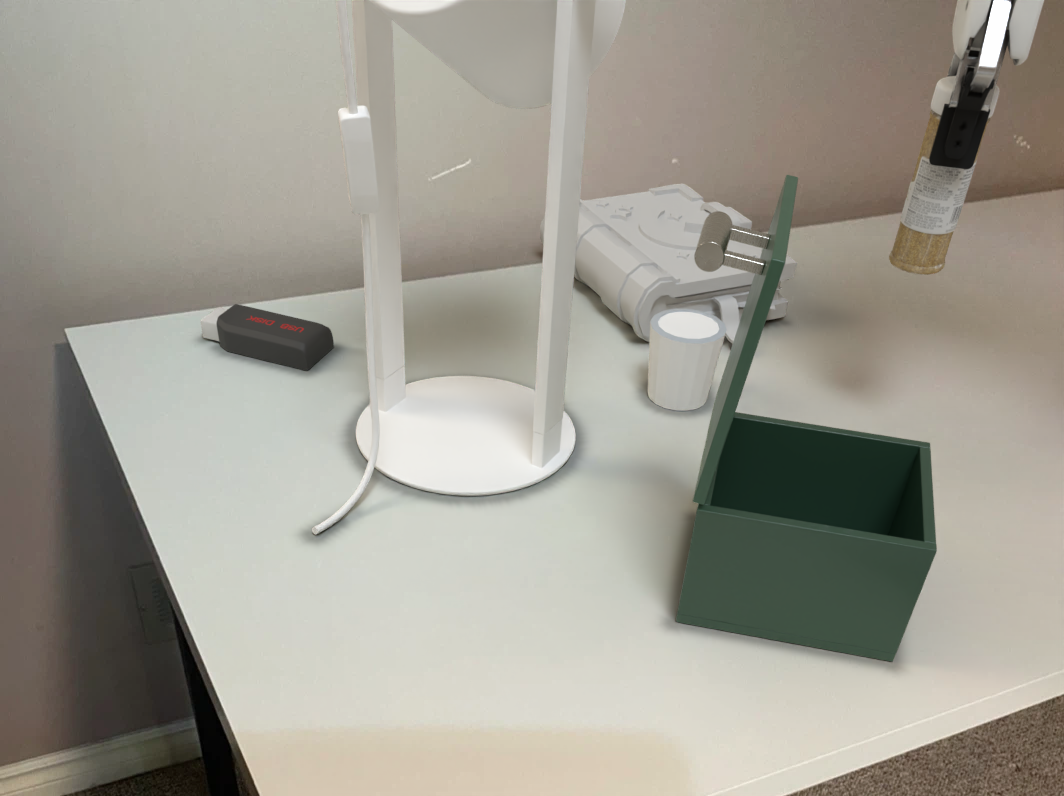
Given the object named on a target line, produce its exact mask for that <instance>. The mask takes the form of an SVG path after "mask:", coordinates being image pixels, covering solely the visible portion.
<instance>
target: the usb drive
mask: <svg viewBox="0 0 1064 796" xmlns="http://www.w3.org/2000/svg"><path fill="white" fill-rule="evenodd" d="M200 327H201V332H202V338H203V339H207V340H212V341H216V342H219V346H220V348H222V349H223V350H225V351H226V352H229V353H232V354H236V355H241V356H243V357H244V356H245V357H249V358H254V359H257V360H261V361H264V362H269V363H273V364H278V365H281V366H284V367H290V368H293V369H297V370H298V369H299V370H302V371H309V370H310V369H311V368H312V367H313V366H314V365H316V364H317V363H318V362H319V361H320V360H321V359H322V358H324V357H325V356H326V355H327V354H328V353H329V352H330V351H331V350H332V349H334V348H335V344H334V343H335V341H334V335H333V332H332V330H331V328H329V327H328V326H326V325H325V324H323V323H319V322H316V321H311V320H307V319H304V318H299V317H294V316H290V315H286V314H282V313H278V312H273V311H268V310H265V309H261V308H256V307H253V306H247V305H242V304H237V303H235V304H233V305H232V306H231V307H229V308H226V307H225V308H224V307H221V306H218V307H216V308H215V309H213V310H212V311H211V312H210V313H208V314H206V315H205V316H203V317H202V318H201V319H200Z"/></svg>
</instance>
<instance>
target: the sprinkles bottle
mask: <svg viewBox="0 0 1064 796" xmlns="http://www.w3.org/2000/svg"><path fill="white" fill-rule="evenodd" d="M955 79H956V76H949V77H947V76H945V77H942V78H940V79H939V80H938V81H937V83H936V84H935V88H934V92H933V95H932V98H931V102H930V105H929V106H930V111H929V119H928V122H927V127H926V128H925V132H924V136H923V139H922V143H921V147H920V149H919V154H918V156H917V160H916V164H915V167H914V171H913V175H912V179H911V180H910V181H909V182H910V183H909V187H908V190H907V193H906V196H905V200H904V204H903V207H902V211H901V215H900V220H899V221H900V222H899V225H898V226H899V227H898V229H897V232H896V236H895V239H894V243H893V246H892V250H891V251H890V253H889V256H888V260H889V263H890V264H891V266H893V267H895V268H897V269H899V270H900V271H903V272H906V273H909V274H913V275H921V276H922V275H925V276H926V275H927V276H929V275H934V274H937V273H939V272H941V271H942V270H943V269H944V268H945V265H946V257H947V254H948V250H949V247H950V244H951V242H952V238H953V235H954V231H955V230H956V229H957V226H958V222H959V219H960V216H961V213H962V209H963V206H964V203H965V201H966V197H967V194H968V191H969V187H970V184H971V182H972V178H973V175H974V172H975V168H976V166H977V161H978V156H979V152H980V149H981V147H982V142H983V139H984V138H985V137H984V136H985V134H986V130H987V126H988V124H989V123H990V121H991V117H993V115H994V112H995V110H996V106H997V104H998V100H999V96H1000V93H1001V92H1000V91H1001V90H1000V87H999V86H998V85H997V84H996V87H995V91H994V94H993V98H992V101H991V105H990V108H989V109H990V114H989V117H988V120H987V123H986V126H985V129H984V133H983V136H982V139H981V142H980V145H979V149H978V152H977V155H976V158H975V161H974V164H973V166H972V167H971V168H970V169H960V168H952V167H944V166H935V165H931V164H930V162H929V157H930V153H931V150H932V146H933V143H934V139H935V136H936V132H937V129H938V125H939V122H940V118H941V115H942V111H943V108H944V104H949V101H950V97H951V94H952V90H953V86H954V82H955Z"/></svg>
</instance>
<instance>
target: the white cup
mask: <svg viewBox="0 0 1064 796" xmlns="http://www.w3.org/2000/svg"><path fill="white" fill-rule="evenodd" d="M726 331H727V329H726V327H725V324H724V323H723V322H722V321H721V320H720V319H719V318H717V317H716V316H713V315H711V314H709V313H706V312H703V311H698V310H693V309H670V310H665V311H662V312H660V313H658V314H656V315H654V316H653V318H652V320H651V321H650V343H649V342H648V344H649V346H648V369H647V370H648V371H647V395H648V398H649V400H651V402H652V403H653V404H655V405H657V406H659V407H661V408H663V409H667V410H672V411H682V412H684V411H685V412H686V411H687V412H689V411H693V410H697V409H700V408H701V407H703V406H704V405H705V404H706V402H707V400H708V398H709V393H710V390H711V387H712V384H713V380H714V376H715V372H716V370H717V366H718V362H719V358H720V355H721V352H722V349H723V346H724V345H723V344H724V341H725V338H726V336H725V334H726Z"/></svg>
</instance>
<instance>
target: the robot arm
mask: <svg viewBox="0 0 1064 796" xmlns="http://www.w3.org/2000/svg"><path fill="white" fill-rule="evenodd" d="M1044 3H1045V0H957V1H956V5H955V6H956V7H955V10H954V17H953V20H952V27H951V37H952V46H953V51H954V52H953V55H952V58H951V62H950V64H949V68H948V71H947V76H946V77H949V76H956V79H955V82H954V86H953V90H952V94H951V97H950V101H949V104H944V108H943V111H942V115H941V118H940V122H939V125H938V129H937V132H936V136H935V139H934V143H933V146H932V150H931V153H930V157H929V162H930V164H931V165H935V166H944V167H952V168H960V169H970V168H971V167H972V166H973V164H974V161H975V158H976V155H977V152H978V149H979V145H980V142H981V139H982V136H983V133H984V129H985V126H986V123H987V120H988V117H989V114H990V109H989V108H990V105H991V101H992V98H993V94H994V91H995V87H996V85H997V83H998V80H999V76H1000V73H1001V70H1002V66H1003V62H1004V58H1005V55H1006V52H1007V50H1008V54H1009V58H1010V59H1012V63H1013V65H1014V66H1020V65H1022V64H1024V63H1025V62H1026V61H1027V60H1028V58H1029V54H1030V51H1031V49H1032V48H1031V47H1032V44H1033V41H1034V37H1035V34H1036V30H1037V27H1038V24H1039V20H1040V16H1041V13H1042V10H1043V6H1044ZM984 134H985V133H984ZM982 140H983V139H982Z"/></svg>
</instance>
